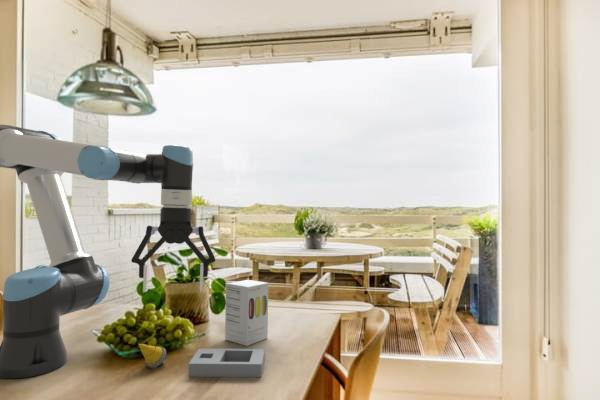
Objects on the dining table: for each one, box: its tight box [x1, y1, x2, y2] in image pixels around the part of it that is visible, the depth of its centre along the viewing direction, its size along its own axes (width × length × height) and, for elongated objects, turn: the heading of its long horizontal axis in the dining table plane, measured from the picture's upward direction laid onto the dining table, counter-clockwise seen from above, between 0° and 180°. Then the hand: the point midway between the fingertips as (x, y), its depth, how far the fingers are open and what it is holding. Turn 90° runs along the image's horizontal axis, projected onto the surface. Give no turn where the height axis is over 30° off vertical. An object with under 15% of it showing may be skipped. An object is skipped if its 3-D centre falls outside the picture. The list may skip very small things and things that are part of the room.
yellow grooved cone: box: [137, 343, 169, 369], centre depth 101 cm, size 5×5×10 cm
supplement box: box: [224, 279, 269, 347], centre depth 123 cm, size 10×9×17 cm
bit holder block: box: [188, 348, 266, 378], centre depth 101 cm, size 17×10×3 cm, turn 90°
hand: (173, 290), depth 105 cm, fingers open, 13 cm apart
